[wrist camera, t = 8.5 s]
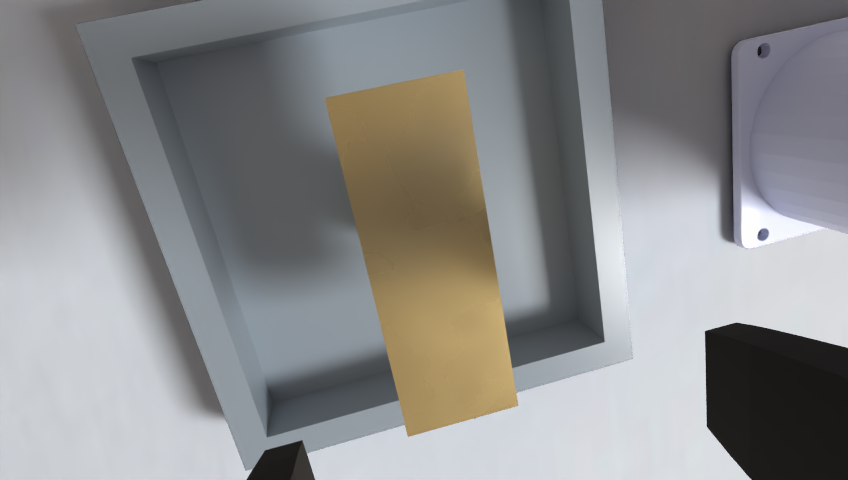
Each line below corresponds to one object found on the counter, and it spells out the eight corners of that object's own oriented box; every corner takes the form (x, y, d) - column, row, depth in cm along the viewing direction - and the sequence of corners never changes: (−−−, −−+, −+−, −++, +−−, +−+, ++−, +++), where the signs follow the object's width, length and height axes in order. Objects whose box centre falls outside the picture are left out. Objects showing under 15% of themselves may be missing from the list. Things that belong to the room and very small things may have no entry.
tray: (558, -50, 17) (595, -73, 14) (598, 328, 21) (633, 358, 18) (115, 35, 15) (74, 24, 13) (256, 424, 19) (245, 470, 17)
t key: (456, 301, 19) (518, 405, 13) (382, 320, 18) (408, 436, 12) (413, 78, 16) (463, 69, 10) (327, 96, 16) (324, 97, 10)
